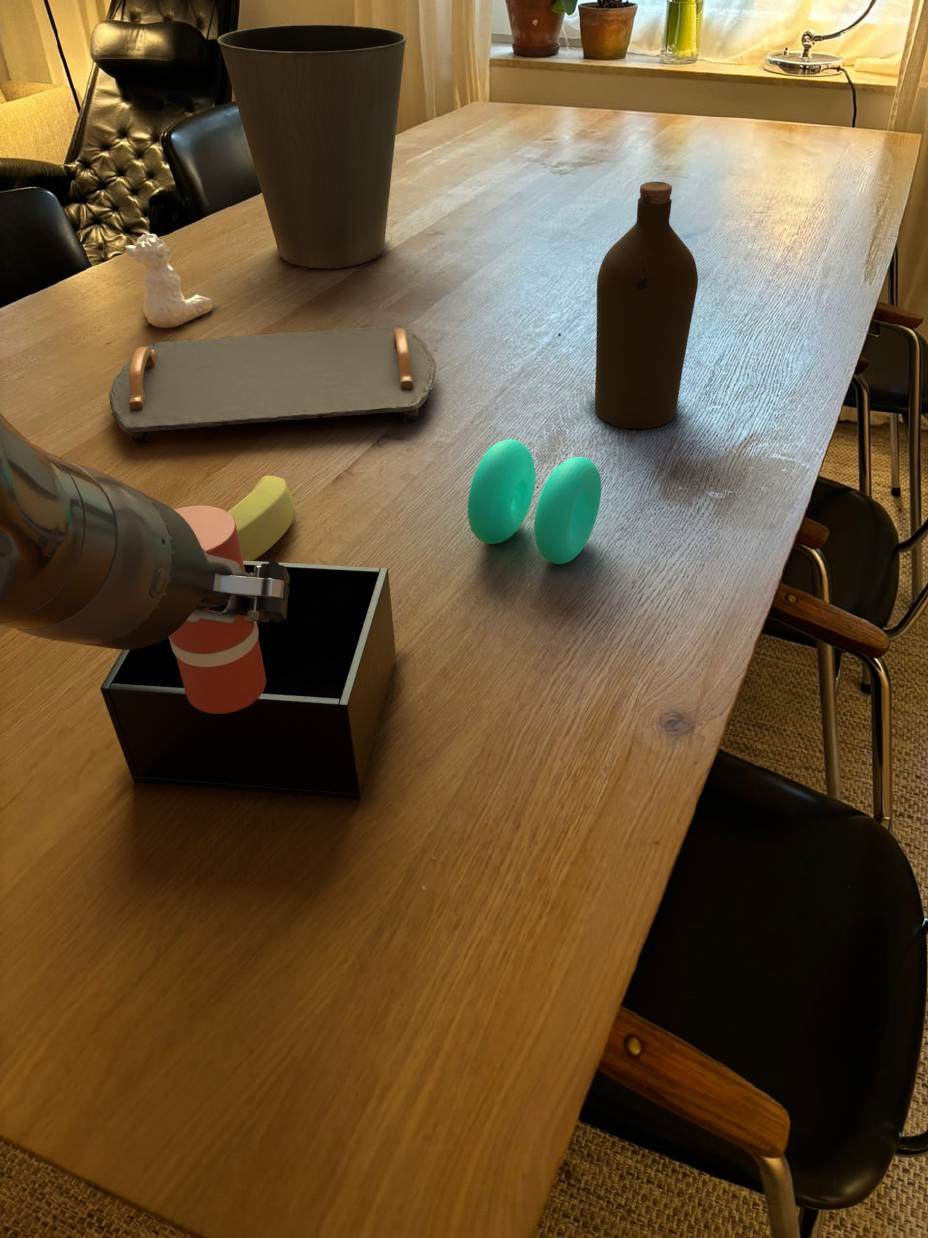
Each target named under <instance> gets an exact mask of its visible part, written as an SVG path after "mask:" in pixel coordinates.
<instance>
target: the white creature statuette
mask: <svg viewBox="0 0 928 1238" xmlns="http://www.w3.org/2000/svg"><path fill="white" fill-rule="evenodd" d="M124 247H125V249H126V251H127V254H128V256H129V257H130V258H134V261H135V262H136V263H138V264H140V265H141V266H143V267H144V268H145V269H147V270H146V271H145V276H144V277H143V288H144V297H143V302H142V303H143V308H142V311H143V314H144V316H145V318H146V321H147V322H148V323H149V324H151V325H152V326H153V327H156V328H163V329H169V328H175V327H176V328H177V327H178V326H182V325H183V324H184V323H188V322H190V321H192V320H193V319H194V320H195V319H196V318H198V317H200V316H202V315H206V314H207V313H210V310H211V309H212V308H213V305H214V304H213V301H212V299H211V298H210V297H206V296H202V295H200V294H194V295H193V296H191V297H190V298H186V299H185V295H184V294H183V293H182V289H181V288H182V286H181V283H182V278H181V277H180V275H178V274H177V273H176V271H175V269H174V268H173V266H171V264H170V263H169V262H170V261H171V260H172V257H171V250H170V249H169V248H168V247H167V244H166V243H165V242H164V241H163V239H161V238H159V237H158V236H157V234H154V233H146V234H144V233H143V234H141V236H139V237H137V239H136V242H135V245H125V246H124Z"/></svg>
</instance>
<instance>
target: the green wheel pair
mask: <svg viewBox="0 0 928 1238" xmlns="http://www.w3.org/2000/svg"><path fill="white" fill-rule="evenodd" d="M535 488H536V465H535V461H534V458H533V456H532V454H531V452H530V450H529V449H528V447H527V446H526V445H525V444H524V443H522V442H520V440H519V441H518V440H517V439H511V438H509V439H503V440H499V441H498V442H495V444H493V445H491V446H490V448H489V449H488V450H486V452H485V454H484V455H483V456H482V458H481V459H480V461H479V463H478V465H477V467H476V469H475V471H474V474H473V478H472V480H471V483H470V488H469V492H468V498H467V519H468V523H469V527H470V530H471V531H472V533H473V535H474V536H475V537H476V539H478V540H479V541H481V542H482V543H485V544H488V545H489V544H491V545H495V544H500V543H503V542H505V541H507V540H509V539H510V538H511V537H512V536H513V535H515V534H516V532H517V531H518V530H519V529H520V527H521V526H522V525H523V523H524V521H525V519H526V517H527V516H528V514H529V511H530V509H531V505H532V501H533V500H534V499H533V498H534V494H535ZM601 497H602V480H601V474H600V472H599V469H598V468H597V466H596V464H595V463H594V462H593V461H592V460H590V459H589V458H587V457H583V456H573V457H570V458H568V459H566V460H564V461H563V462H561V463H560V464H558V466H556V468H555V469H553V471H552V472H551V474H550V475H549V477H548V478H547V480H546V482H545V484H544V486H543V488H542V490H541V493H540V496H539V498H538V502H537V505H536V510H535V515H534V523H533V524H534V525H533V526H534V527H533V528H534V530H533V532H534V539H535V544H536V548H537V549H538V551H539V553H540V554H541V556H542V557H543V558H544V559H545V560H546V561H547V562H548V563H551V564H554V565H565V564H568V563H570V562H572V561H573V560H574V559H576V558H577V557H578V555H579V554H580V553H581V552H582V550H583V549H584V548H585V546H586V545H587V542H588V540H589V539H590V536H591V534H592V532H593V530H594V526H595V524H596V521H597V517H598V514H599V509H600V503H601V499H602V498H601Z"/></svg>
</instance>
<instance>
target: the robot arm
mask: <svg viewBox="0 0 928 1238" xmlns="http://www.w3.org/2000/svg"><path fill="white" fill-rule="evenodd" d="M268 562H269V564H262V566H255V567H254V573H245V572H242V571H241V569H240V565H239V563H238V562H236V561H233V560H229V559H225V558H221V557H217V556H213V555H209V554H207V553H206V551H205V550H204V549H203V548H202V547H201V545H200V543H199V541H198V538H197V536H196V535H195V533H194V531H193V529H192V528H191V527H190V525H189V524H188V523H187V521H186V520H185V519H184V518H183V517H182V516H181V515H180V514H179V513H177V512H176V511H175V509H174V508H173V507H171V506H169V505H167V504H165V503H164V502H162V501H160V500H157V499H155V497H152V496H150V495H149V494H146V493H144V492H142V491H140V490H138V489H136V488H134V487H132V486H130V485H129V484H126V483H125V482H123V481H121V480H119V479H117V478H115V477H113V476H111V475H109V474H107V473H105V472H103V471H100V470H97V469H95V468H93V467H90V466H86V465H82V464H78V463H74V462H71V461H67V460H65V459H63V458H62V457H60V456H58V455H55V454H54V453H51V452H50V451H47V450H45V449H44V448H42V447H40V446H38V445H36V444H35V443H32V442H31V441H30V440H29V439H27V438H26V436H24V435H23V434H22V433H21V432H20V431H19V430H18V429H17V428H16V427H14V426H13V424H11V422H10V421H9V420H8V419H7V418H6V417H5V416H4V415H3V413H1V412H0V627H4V628H9V629H14V630H16V631H19V632H22V633H24V634H27V635H29V636H32V637H35V638H41V639H45V640H49V641H53V642H55V641H56V642H62V643H70V644H77V645H82V646H83V645H84V646H92V647H97V648H105V649H112V650H120V651H122V650H133V649H140V648H144V647H148V646H151V645H154V644H156V643H158V642H160V641H162V640H164V639H166V638H167V637H169V636H170V635H172V634H173V633H174V632H175V631H177V630H178V629H179V628H180V627H181V626H182V625H183V624H184V623H185V622H197V621H198V620H200V621H206V622H214V623H232V622H234V620H235V618H236V617H237V618H243V621H255V622H266V623H268V622H269V620H270V619H271V621H270V622H280V620H286V616H287V612H286V611H287V605H288V595H289V583H290V576H289V574H288V571H287V569H286V567H285V566H283V565H279V563H278V562H279V561H278V562H277V561H268ZM237 596H239V602H238V605H237ZM205 608H209V609H208V610H205Z"/></svg>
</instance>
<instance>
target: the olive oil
mask: <svg viewBox="0 0 928 1238" xmlns="http://www.w3.org/2000/svg"><path fill="white" fill-rule="evenodd" d="M672 191H673V186H672V185H671V184H669V183H668V182H664V181H648V182H644V183H642V184H641V185H640V186H639V194H640V195H639V197H638V199H637V206H636V207H637V209H636V222H635V223H634V225H633V226H632V227H631V228H630V229H629V230H628V231H627V232H626V233H624V234H623V236H622V237H621V238H619V240H617V242H615V243H614V244H613V245H612V246H611V248H609V250H608V251H607V252H606V254H605V256H604V258H603V259H602V262H601V264H600V267H599V270H598V273H597V279H596V337H595V339H596V344H595V386H594V411H595V413H596V415H597V416H598V417H599V418H600V419H601V420H602V421H603V422H605V423H607V424H610V425H612V426H615V427H618V428H622V429H630V430H647V429H654V428H659V427H661V426H664V425H665V424H667V423H669V422H671V421H672V420H673V419H674V418H675V416H676V413H677V408H678V403H679V402H678V401H679V395H680V388H681V381H682V376H683V369H684V364H685V359H686V352H687V346H688V341H689V335H690V331H691V330H690V329H691V325H692V318H693V314H694V308H695V303H696V297H697V291H698V286H699V275H698V268H697V263H696V260H695V256H694V255H693V253H692V252H691V251H690V248H689V247H687V245H686V244H685V242H683V240H682V239H681V238H680V236H679V235H678V234H677V232H675V230H674V229H673V227H672V226H671V224H670V217H671V210H672V202H673V201H672V199H671V195H672Z"/></svg>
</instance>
